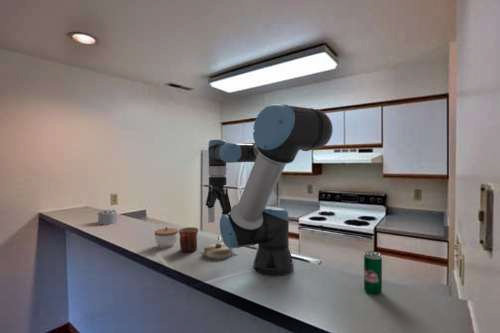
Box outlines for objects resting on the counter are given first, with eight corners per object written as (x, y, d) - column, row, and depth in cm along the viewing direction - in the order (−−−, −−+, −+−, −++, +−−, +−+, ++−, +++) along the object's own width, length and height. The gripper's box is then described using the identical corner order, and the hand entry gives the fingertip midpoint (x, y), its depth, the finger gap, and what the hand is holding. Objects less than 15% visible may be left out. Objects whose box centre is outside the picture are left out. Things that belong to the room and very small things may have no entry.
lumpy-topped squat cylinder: (113, 220, 189) (113, 208, 188) (119, 223, 179) (119, 210, 179) (96, 222, 181) (96, 210, 181) (102, 226, 172) (102, 212, 172)
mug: (184, 248, 126) (183, 226, 126) (201, 249, 124) (201, 227, 124) (171, 257, 114) (171, 233, 114) (190, 259, 112) (190, 234, 112)
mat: (237, 257, 113) (237, 255, 113) (211, 263, 107) (211, 261, 107) (224, 249, 124) (224, 247, 123) (200, 254, 117) (200, 252, 117)
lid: (237, 255, 113) (237, 245, 113) (211, 261, 107) (211, 250, 107) (224, 247, 123) (224, 238, 123) (200, 252, 117) (199, 243, 117)
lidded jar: (169, 251, 122) (169, 230, 122) (149, 249, 126) (149, 229, 126) (182, 244, 132) (182, 225, 132) (164, 242, 136) (164, 224, 136)
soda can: (361, 291, 83) (361, 253, 83) (367, 286, 86) (367, 249, 86) (378, 297, 79) (378, 257, 79) (384, 291, 83) (384, 253, 83)
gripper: (239, 177, 106) (240, 230, 107) (213, 174, 127) (213, 219, 128) (222, 178, 102) (223, 233, 103) (198, 175, 123) (198, 221, 124)
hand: (218, 225), depth 115 cm, fingers open, 13 cm apart
